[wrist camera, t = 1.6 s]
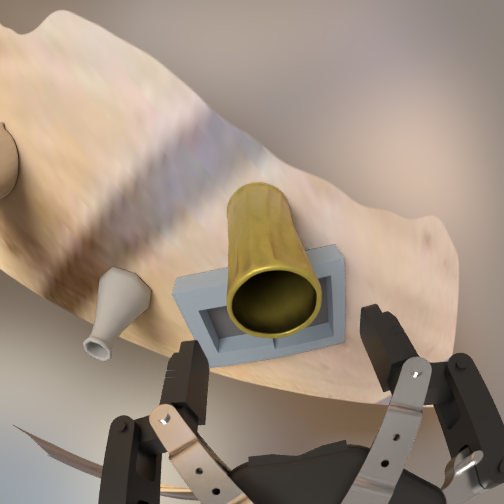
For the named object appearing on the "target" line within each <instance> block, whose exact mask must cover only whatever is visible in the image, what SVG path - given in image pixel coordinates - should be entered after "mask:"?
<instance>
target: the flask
mask: <svg viewBox="0 0 504 504" xmlns="http://www.w3.org/2000/svg"><path fill="white" fill-rule="evenodd" d="M150 296H151V289H150V288H149V287H148V286H147V285H146V284H145V283H144V282H143V281H142V280H141V279H140V278H139V277H138V276H137V275H136V274H135V273H132V272H129V271H125V270H122V269H119V268H115V267H112V268H111V269H109V270H108V271H107V272H106V273H105V274H104V275H103V276H102V277H100V281H99V290H98V301H97V310H96V318H95V322H94V326H93V330H92V332H91V335H90V336H89V338H87V339H86V340H85V341H84V342H83V345H84V350H85V351H86V352H87V353H88V354H89V355H91V356H92V357H93V358H95V359H98V360H101V361H104V362H105V361H107V360H109V359H111V357H112V354H111V349H112V346H113V344H114V342H115V341H116V339H117V338H118V336H119V335H120V334H121V332H122V331H123V330H124V329H125V328H126V327H128V326H129V325H130V324H131V323H132V322H133V321H134V320H135V319H136V318H137V317H138V316H140V315H141V314H142V313H143V312H144V311H145V310H147V309H148V308H149V303H150Z"/></svg>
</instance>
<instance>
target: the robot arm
mask: <svg viewBox="0 0 504 504" xmlns="http://www.w3.org/2000/svg"><path fill="white" fill-rule="evenodd" d="M17 176H18V154H17V149H16V145H15V143H14V141H13V138H12V137H11V135H10V134H9V133H8V132H7V131H6V130H5V129H4V126H3V122H1V123H0V200H1V199H2V198H3V197H5V196H7V195H8V194H9V193H10V192H11V191H12V190H13V188H14V186H15V183H16V180H17ZM360 335H361V339H362V342H363V344H364V346H365V349H366V351H367V353H368V356H369V358H370V360H371V363H372V365H373V368H374V370H375V372H376V375H377V377H378V380H379V382H380V385H381V387H382V390H383V392H386V391H389V390H390V391H391V393H392V398H391V400H390V403H389V406H388V408H387V411H386V413H385V416H384V418H383V421H382V423H381V426H380V428H379V430H378V432H377V435H376V437H375V439H374V441H373V443H372V445H371V447H370V448H368V447H364V446H360V445H352V444H350V445H347V443H346V440H343V441H339V442H335V443H331V444H327V445H323V446H320V447H318V448H316V449H314V450H311V451H309V452H307V453H305V454H302V455H299V456H287V455H275V454H271V455H262V456H251V457H249V462H246V463H244V464H242V465H240V466H238V467H236V468H235V469H233V470H232V471H231V470H230V469H229V468H228V466H227V465H226V464H225V463H223V461H221V459H220V458H219V457H218V456H217V455H216V454H215V453H214V452H213V450H212V449H211V448H210V447H209V446H208V445H207V443H206V442H205V441H204V440H203V438H202V437H201V436H200V435H199V433H198V432H197V429H198V425H205V421H206V405H207V392H208V380H209V363H208V359H207V357H206V355H205V353H204V351H203V350H202V348H201V346H200V344H199V342H198V341H197V340H192V341H184V342H182V343H181V346H180V351H179V352H178V353H174V354H173V355H172V357H171V358H170V360H169V362H168V366H167V372H166V376H165V377H166V378H165V381H164V385H163V390H162V395H161V400H160V404H159V406H157V407H156V408H154V409H153V410H152V412H151V413H150V415H149V416H146V417H143V418H139V419H136V420H133V419H131V418H130V417H128V416H125V415H123V416H119V417H117V418H116V419H114V420H113V422H112V423H111V426H110V430H109V436H108V441H107V446H106V452H105V458H104V464H103V470H102V477H101V485H100V493H99V503H98V504H160V479H161V461H162V453H165V452H168V453H169V455H170V456H169V460H170V461H171V463H172V464H173V466H174V467H175V469H176V470H177V472H178V473H179V474H180V476H181V477H182V479H183V480H184V481H185V483H186V484H187V485H188V487H189V488H190V489H191V491H192V492H193V493H194V494H195V496H196V497H197V498H198V499H199V501H200V502H201V503H202V504H462V503H464V502H465V501H467V500H469V499H471V498H472V497H474V496H476V495H478V494H481V493H483V492H485V491H487V490H490V489H492V488H494V487H496V486H498V485H500V484H502V483H504V424H503V422H502V420H501V417H500V415H499V412H498V410H497V408H496V406H495V404H494V401H493V399H492V397H491V395H490V393H489V391H488V389H487V387H486V385H485V383H484V381H483V379H482V377H481V375H480V373H479V371H478V369H477V367H476V366H475V364H474V362H473V360H472V359H471V357H470V356H468V355H467V354H464V353H456V354H454V355H452V356H451V357H450V359H449V361H448V362H438V363H430V362H428V361H427V360H426V359H424V358H422V357H419V355H418V354H417V352H416V350H415V349H414V347H413V345H412V343H411V342H410V340H409V338H408V336H407V335H406V333H405V332H404V330H403V328H402V326H401V325H400V323H399V321H398V320H397V318H396V317H395V316H394V315H392V314H391V313H390V312H388V311H387V312H384V313H382V312H381V310H380V308H379V306H378V305H377V304H373V305H369V306H366V307H362V308H361V318H360ZM432 404H433V406H434V408H435V411H436V414H437V416H438V419H439V422H440V425H441V428H442V430H443V433H444V436H445V439H446V442H447V446H448V449H449V452H450V455H451V460H450V461H449V462H448V464H447V465H446V468H445V481H444V484H443V486H442V487H441V489H440V488H439V487H437V486H435V485H433V484H431V483H430V482H427V481H426V480H424V479H422V478H420V477H418V476H416V475H415V474H413V473H411V472H409V471H407V470H406V469H404V466H405V463H406V461H407V459H408V456H409V453H410V451H411V448H412V445H413V443H414V440H415V437H416V434H417V431H418V428H419V425H420V422H421V419H422V415H423V412H422V408H423V405H432Z"/></svg>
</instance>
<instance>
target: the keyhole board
mask: <svg viewBox="0 0 504 504" xmlns="http://www.w3.org/2000/svg"><path fill="white" fill-rule="evenodd" d="M306 254H307V256H308V258H309V261H310V263H311V265H312V267H313V270H314V272H315V274H316V276H317V279H318V281H319V283H320V286H321V291H322V302H321V308H320V311H319V313H318V315H317V316H316V318H315V319H314V320H313V322H312V323H311V324H310V325H308V326H307V327H306V328H304V329H303V330H301V331H299V332H297V333H295V334H293V335H290V336H287V337H283V338H273V339H271V338H261V337H255V336H252V335H249V334H247V333H245V332H243V331H241V330H240V329H239V328H238V327H237V326H236V325H235V324H234V323H233V321H232V320H231V319H230V317H229V314H228V311H227V297H226V295H227V284H228V267H227V268H222V269H217V270H213V271H208V272H203V273H198V274H193V275H188V276H183V277H179V278H177V279H176V283H175V286H174V289H173V292H172V295H173V297H174V299H175V301H176V303H177V305H178V308H179V310H180V312H181V314H182V316H183V318H184V320H185V322H186V324H187V326H188V328H189V330H190V332H191V333H192V335H193V337H194V339H195V340H197V341H198V342H199V344H200V346H201V348H202V350H203V351H204V353H205V355H206V357H207V359H208V363H209V367H210V368H215V367H223V366H230V365H237V364H243V363H250V362H256V361H262V360H267V359H273V358H278V357H283V356H288V355H293V354H297V353H302V352H307V351H311V350H315V349H319V348H324V347H328V346H332V345H336V344H339V343H343V342H345V268H344V257H343V256H342V254H341V252H340V251H339V249H338V248H337V246H336V245H335V244H334V245H330V246H325V247H320V248H316V249H311V250H307V251H306Z"/></svg>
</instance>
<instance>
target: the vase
mask: <svg viewBox="0 0 504 504" xmlns="http://www.w3.org/2000/svg"><path fill="white" fill-rule="evenodd" d="M227 218H228V238H229V253H228V284H227V295H226V297H227V311H228V314H229V317H230V319H231V320H232V321H233V323H234V324H235V325H236V326H237V327H238V328H239V329H240V330H241V331H243V332H245V333H247V334H249V335H252V336H255V337H261V338H271V339H273V338H283V337H287V336H290V335H293V334H295V333H297V332H299V331H301V330H303V329H304V328H306V327H307V326H308V325H310V324H311V323H312V322H313V320H314V319H315V318H316V316H317V315H318V313H319V311H320V308H321V302H322V291H321V286H320V283H319V281H318V279H317V276H316V274H315V272H314V270H313V267H312V265H311V263H310V261H309V258H308V256H307V254H306V251H305V249H304V247H303V244H302V242H301V240H300V238H299V236H298V234H297V232H296V230H295V227H294V224H293V221H292V217H291V213H290V209H289V204H288V201H287V199H286V197H285V196H284V194H283V193H282V192H281V191H280V190H279V189H278V188H276V187H274V186H272V185H269V184H266V183H251V184H247V185H245V186H243V187H241V188H240V189H238V190H237V191H236V192H235V193H234V194H233V195H232V197H231V198H230V200H229V203H228V206H227Z"/></svg>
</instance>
